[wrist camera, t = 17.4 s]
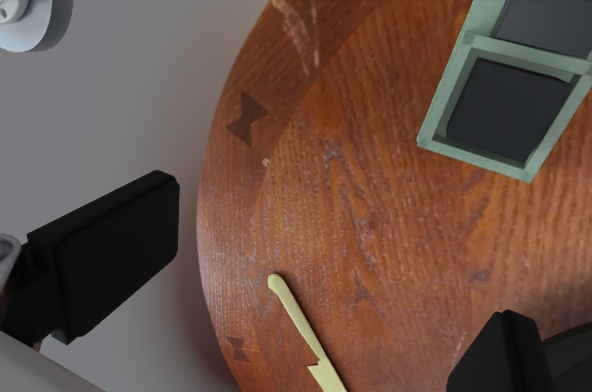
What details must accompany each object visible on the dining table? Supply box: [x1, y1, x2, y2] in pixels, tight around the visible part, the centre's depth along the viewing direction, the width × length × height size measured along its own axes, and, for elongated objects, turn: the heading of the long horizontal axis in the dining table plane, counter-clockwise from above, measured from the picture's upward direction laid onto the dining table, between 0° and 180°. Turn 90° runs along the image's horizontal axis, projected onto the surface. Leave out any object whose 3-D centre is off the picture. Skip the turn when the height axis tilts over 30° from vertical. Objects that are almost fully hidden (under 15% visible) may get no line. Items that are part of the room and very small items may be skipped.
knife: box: [268, 274, 347, 392], centre depth 44 cm, size 1×34×5 cm
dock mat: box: [416, 0, 592, 183], centre depth 22 cm, size 8×13×5 cm, turn 167°
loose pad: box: [446, 57, 572, 163], centre depth 23 cm, size 5×5×4 cm
